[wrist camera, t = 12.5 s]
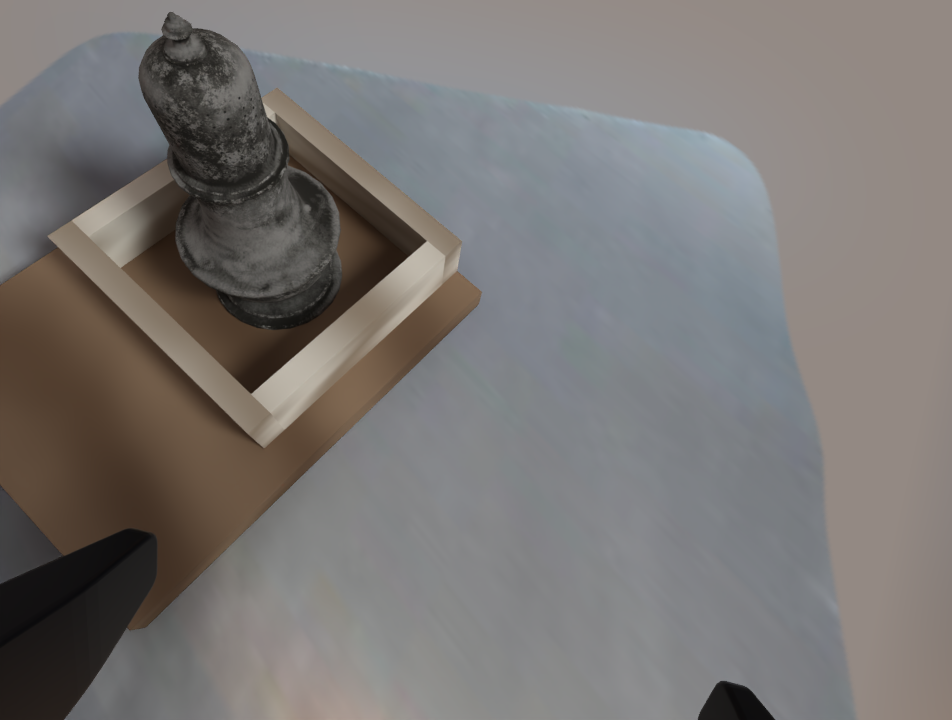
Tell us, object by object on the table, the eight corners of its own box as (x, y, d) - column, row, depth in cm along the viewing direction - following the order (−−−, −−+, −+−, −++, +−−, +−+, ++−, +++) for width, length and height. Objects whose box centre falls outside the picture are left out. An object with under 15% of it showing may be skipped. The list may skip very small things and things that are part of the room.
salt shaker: (183, 316, 23) (-27, 69, 12) (239, 202, 25) (105, -97, 14) (323, 352, 23) (247, 142, 12) (366, 235, 25) (335, -33, 14)
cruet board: (145, 627, 20) (92, 638, 16) (-86, 370, 22) (-174, 333, 19) (478, 304, 26) (489, 264, 23) (271, 128, 28) (253, 68, 25)
